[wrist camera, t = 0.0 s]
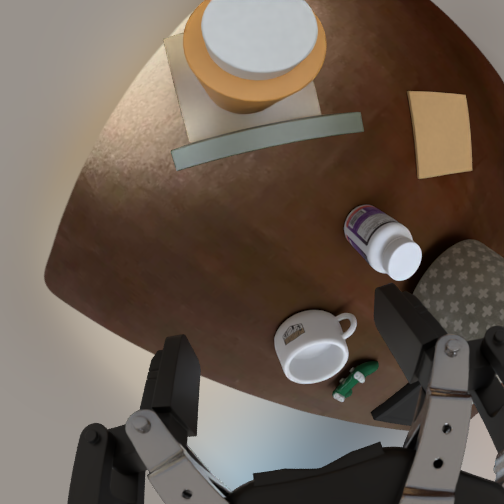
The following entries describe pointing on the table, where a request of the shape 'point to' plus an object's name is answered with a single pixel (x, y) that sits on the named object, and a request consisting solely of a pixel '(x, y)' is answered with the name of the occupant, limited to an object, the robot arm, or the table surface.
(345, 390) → the gaming controller
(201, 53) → the amber bottle
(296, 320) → the mug
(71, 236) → the table surface
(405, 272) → the pill bottle
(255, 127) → the miniature wooden chair
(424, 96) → the coaster
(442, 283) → the planter
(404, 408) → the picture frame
